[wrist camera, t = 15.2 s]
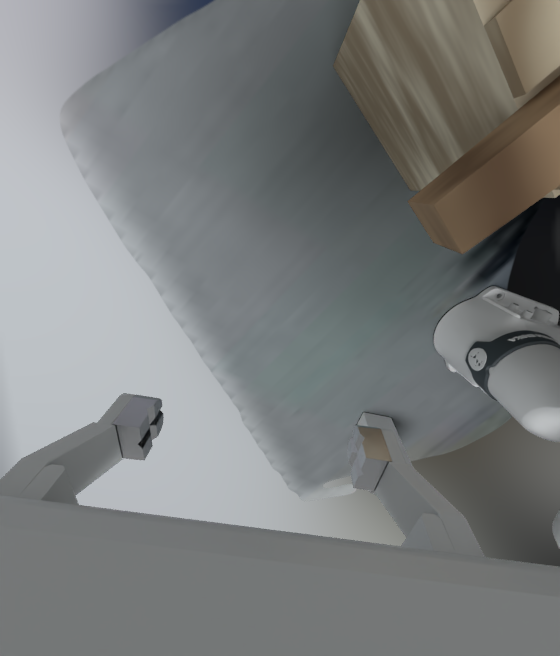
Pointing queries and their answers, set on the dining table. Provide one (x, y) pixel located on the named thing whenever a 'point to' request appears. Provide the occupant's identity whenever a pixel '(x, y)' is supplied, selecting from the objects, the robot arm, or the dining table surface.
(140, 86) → the dining table surface
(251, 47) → the dining table surface
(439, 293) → the dining table surface
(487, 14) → the slotted stand
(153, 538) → the robot arm
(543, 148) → the rail bar
